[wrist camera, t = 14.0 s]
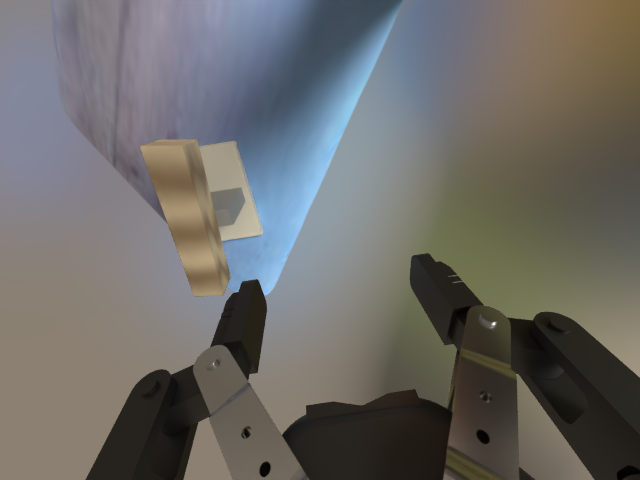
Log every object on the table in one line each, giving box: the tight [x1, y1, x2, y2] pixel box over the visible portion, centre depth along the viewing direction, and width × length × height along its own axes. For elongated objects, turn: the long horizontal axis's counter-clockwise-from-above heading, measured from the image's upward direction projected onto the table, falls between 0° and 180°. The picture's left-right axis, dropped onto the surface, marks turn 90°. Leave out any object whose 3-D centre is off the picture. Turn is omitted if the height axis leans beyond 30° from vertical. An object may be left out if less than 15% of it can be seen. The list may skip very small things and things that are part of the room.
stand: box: [199, 140, 263, 241], centre depth 36 cm, size 16×10×10 cm, turn 8°
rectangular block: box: [140, 140, 230, 297], centre depth 30 cm, size 20×4×4 cm, turn 179°
